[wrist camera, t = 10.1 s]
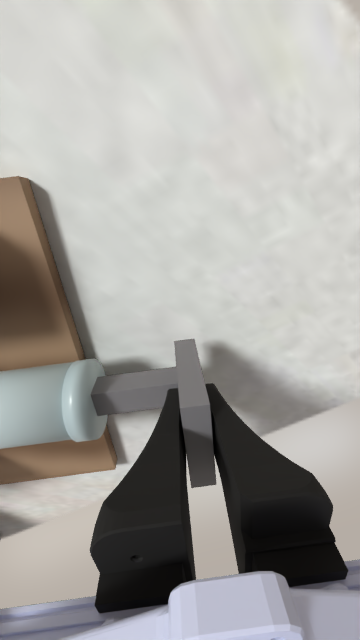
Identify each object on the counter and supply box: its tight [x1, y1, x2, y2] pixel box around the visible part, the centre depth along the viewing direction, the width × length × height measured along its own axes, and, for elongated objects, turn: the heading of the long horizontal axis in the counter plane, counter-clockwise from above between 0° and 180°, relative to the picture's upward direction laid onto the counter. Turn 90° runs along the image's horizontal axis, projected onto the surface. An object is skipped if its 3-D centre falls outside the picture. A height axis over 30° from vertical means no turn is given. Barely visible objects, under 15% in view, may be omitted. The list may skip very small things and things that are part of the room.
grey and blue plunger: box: [0, 339, 216, 488], centre depth 14 cm, size 5×17×7 cm, turn 96°
